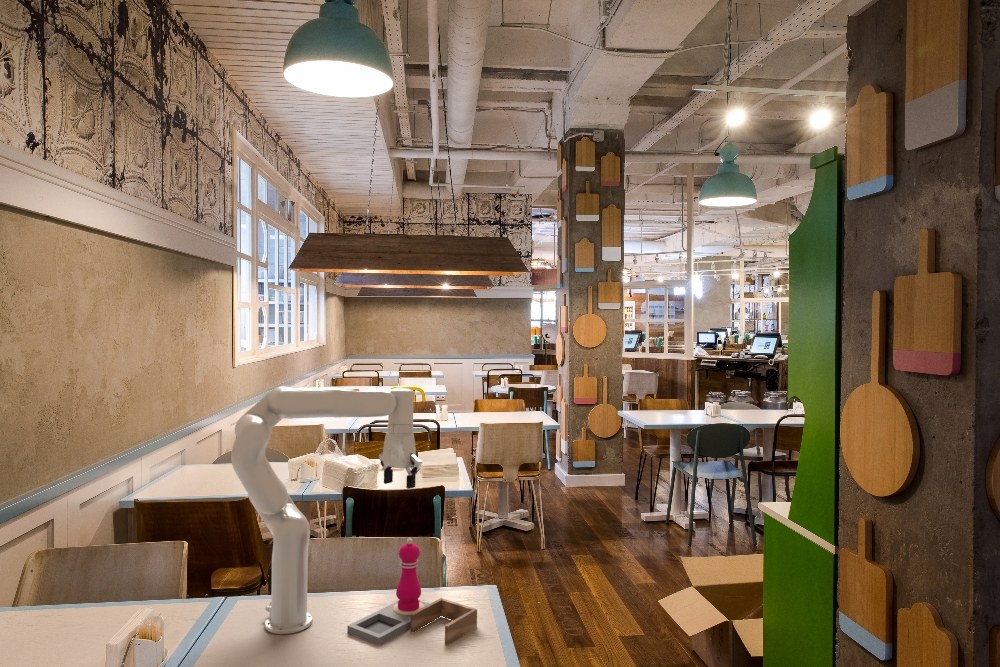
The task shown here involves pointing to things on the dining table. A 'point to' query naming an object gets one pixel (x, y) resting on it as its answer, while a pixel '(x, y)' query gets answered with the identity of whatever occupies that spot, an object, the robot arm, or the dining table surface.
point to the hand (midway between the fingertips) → (399, 485)
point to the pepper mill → (408, 578)
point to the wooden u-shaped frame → (457, 612)
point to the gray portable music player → (383, 624)
